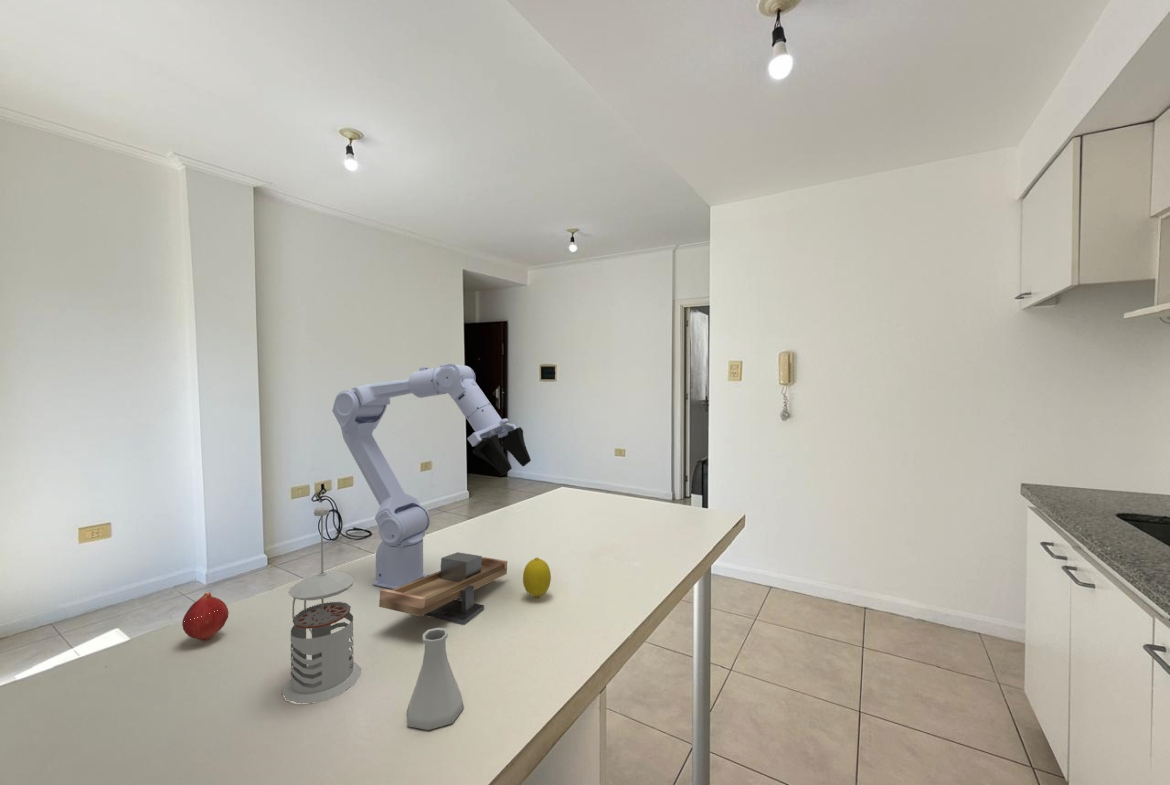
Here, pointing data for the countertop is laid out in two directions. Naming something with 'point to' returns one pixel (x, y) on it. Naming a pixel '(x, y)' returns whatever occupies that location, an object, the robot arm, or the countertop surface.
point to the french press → (321, 637)
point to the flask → (434, 686)
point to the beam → (437, 589)
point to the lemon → (536, 577)
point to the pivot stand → (458, 608)
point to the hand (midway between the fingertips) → (517, 467)
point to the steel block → (460, 566)
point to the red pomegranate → (205, 617)
